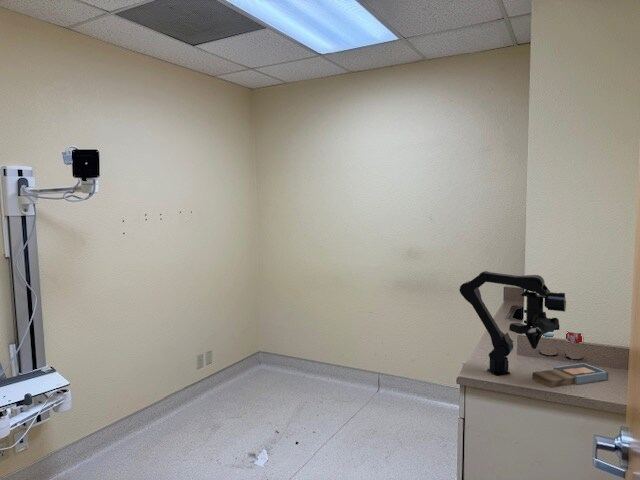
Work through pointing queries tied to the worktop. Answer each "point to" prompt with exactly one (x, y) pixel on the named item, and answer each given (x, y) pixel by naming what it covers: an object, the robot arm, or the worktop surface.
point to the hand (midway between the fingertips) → (534, 348)
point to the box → (587, 378)
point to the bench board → (553, 378)
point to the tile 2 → (585, 370)
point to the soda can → (574, 337)
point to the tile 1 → (572, 372)
